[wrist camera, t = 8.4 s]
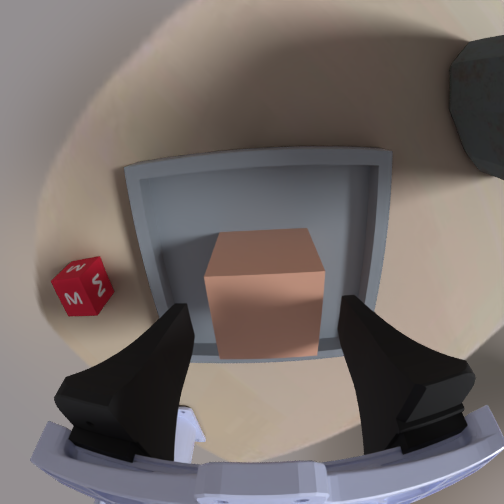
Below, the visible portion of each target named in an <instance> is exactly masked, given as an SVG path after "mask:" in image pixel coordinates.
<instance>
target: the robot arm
mask: <svg viewBox="0 0 504 504" xmlns="http://www.w3.org/2000/svg"><path fill="white" fill-rule="evenodd" d="M337 330H338V335H339V340H340V345H341V348H342V351H343V354H344V357H345V360H346V363H347V366H348V369H349V372H350V375H351V377H352V380H353V383H354V387H355V391H356V396H357V401H358V406H359V412H360V419H361V426H362V435H363V445H364V455H362V456H358V457H353V458H348V459H342V460H336V461H329V462H316V461H312V460H309V461H286V462H260V463H242V462H209V463H206V464H202V465H199V464H191V460H192V454H193V448H194V442H195V441H197V442H205V441H206V438H205V436H204V434H203V432H202V430H201V428H200V425H199V423H198V421H197V419H196V417H195V415H194V412H193V410H192V409H191V408H188V407H179V402H180V396H181V392H182V388H183V384H184V381H185V378H186V374H187V371H188V367H189V364H190V360H191V357H192V353H193V347H194V339H195V334H194V330H193V326H192V322H191V318H190V314H189V310H188V306H187V303H175V304H174V305H173V306H171V307H170V308H169V309H168V310H167V311H166V312H165V313H164V314H163V315H162V316H161V317H160V318H159V319H158V320H157V321H156V322H155V323H154V324H153V325H152V326H151V327H150V328H149V329H148V330H147V331H145V332H144V333H143V334H142V335H141V336H140V337H139V338H138V339H136V340H135V341H134V342H133V343H131V344H130V345H129V346H127V347H126V348H124V349H123V350H122V351H120V352H119V353H117V354H115V355H114V356H112V357H110V358H109V359H107V360H105V361H103V362H102V363H100V364H98V365H96V366H93V367H91V368H89V369H87V370H85V371H82V372H79V373H76V374H73V375H70V376H67V377H66V378H65V379H64V381H63V383H62V384H61V386H60V388H59V390H58V392H57V393H56V395H55V397H54V401H55V403H56V405H57V407H58V408H59V410H60V411H61V412H62V413H63V414H64V416H65V417H66V418H67V419H68V420H69V421H70V422H71V423H72V424H73V426H74V427H73V429H72V431H71V430H69V429H68V428H66V427H64V426H61V425H59V424H56V423H53V422H51V421H48V422H47V424H46V427H45V428H44V431H43V433H42V435H41V437H40V439H39V441H38V443H37V446H36V448H35V450H34V452H33V455H32V457H31V459H30V461H31V462H32V463H33V464H35V465H36V466H37V467H38V468H40V469H41V470H43V471H44V472H45V473H47V474H48V475H50V476H51V477H53V478H54V479H55V480H57V481H59V482H60V483H61V484H63V485H66V486H68V487H70V488H72V489H74V490H76V491H79V492H81V493H83V494H85V495H87V496H90V497H92V498H95V502H94V504H410V503H412V502H415V501H417V500H420V499H422V498H424V497H427V496H429V495H431V494H433V493H435V492H438V491H440V490H442V489H444V488H446V487H448V486H450V485H452V484H454V483H456V482H458V481H460V480H462V479H463V478H465V477H467V476H469V475H471V474H472V473H474V472H476V471H477V470H479V469H480V468H482V467H483V466H484V465H485V464H487V463H488V462H489V461H490V460H492V459H493V458H494V457H495V456H496V455H498V454H499V453H500V452H501V451H502V450H503V449H504V437H503V435H502V433H501V430H500V428H499V426H498V424H497V422H496V420H495V418H494V416H493V414H492V412H491V410H490V408H489V406H488V405H485V406H483V407H481V408H479V409H477V410H475V411H473V412H471V413H469V414H468V415H467V416H465V417H464V416H463V414H462V412H463V411H464V406H463V404H462V402H463V400H464V399H465V397H466V396H467V395H468V393H469V392H470V390H471V389H472V387H473V385H474V382H475V374H474V373H473V371H472V369H471V368H470V366H469V365H468V363H467V362H466V361H465V360H461V359H458V358H454V357H451V356H447V355H445V354H442V353H439V352H437V351H434V350H432V349H430V348H427V347H425V346H423V345H421V344H419V343H417V342H416V341H414V340H412V339H410V338H409V337H407V336H405V335H404V334H402V333H401V332H399V331H398V330H396V329H395V328H393V327H392V326H391V325H389V324H388V323H387V322H386V321H384V320H383V319H382V318H381V317H379V316H378V315H377V314H376V313H375V312H373V311H372V310H371V309H370V308H369V307H368V306H367V305H365V304H364V303H363V302H362V301H361V300H360V299H359V298H358V297H356V296H355V295H344V296H342V298H341V306H340V314H339V321H338V328H337Z"/></svg>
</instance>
